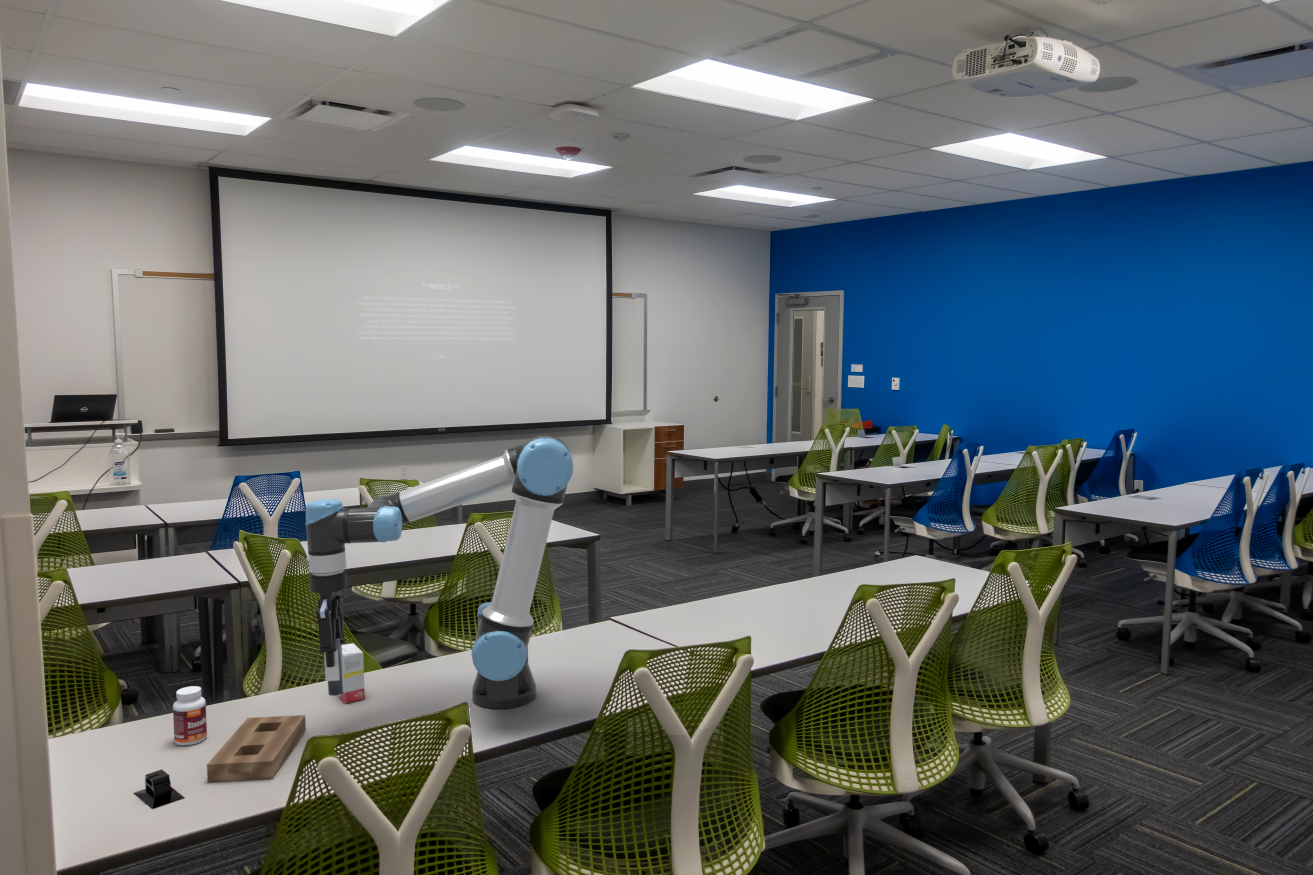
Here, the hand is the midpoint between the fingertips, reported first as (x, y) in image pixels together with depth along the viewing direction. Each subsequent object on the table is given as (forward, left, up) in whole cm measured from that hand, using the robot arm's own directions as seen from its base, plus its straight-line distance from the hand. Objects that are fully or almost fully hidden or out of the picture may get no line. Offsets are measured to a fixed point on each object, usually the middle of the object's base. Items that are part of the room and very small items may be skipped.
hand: (334, 676), depth 188 cm
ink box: (+2, -19, -12) cm, 23 cm away
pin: (0, 0, -4) cm, 4 cm away
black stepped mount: (+26, +26, -13) cm, 39 cm away
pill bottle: (+30, +2, -12) cm, 32 cm away
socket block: (+13, +11, -12) cm, 20 cm away
